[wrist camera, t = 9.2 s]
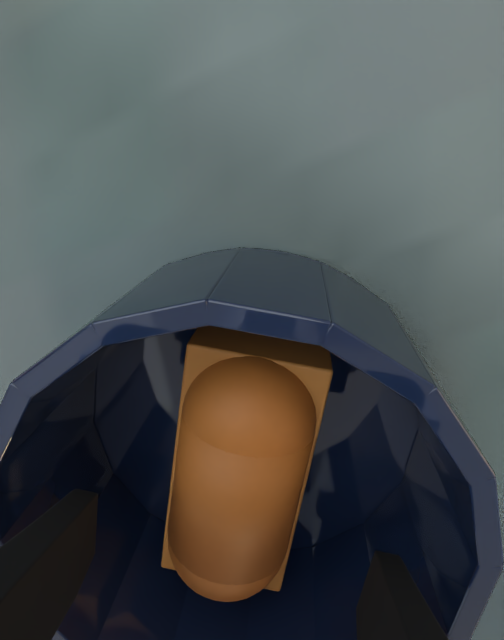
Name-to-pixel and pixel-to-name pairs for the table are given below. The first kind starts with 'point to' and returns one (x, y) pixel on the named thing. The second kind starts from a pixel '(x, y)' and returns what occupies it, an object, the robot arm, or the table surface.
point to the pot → (324, 475)
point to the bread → (242, 459)
